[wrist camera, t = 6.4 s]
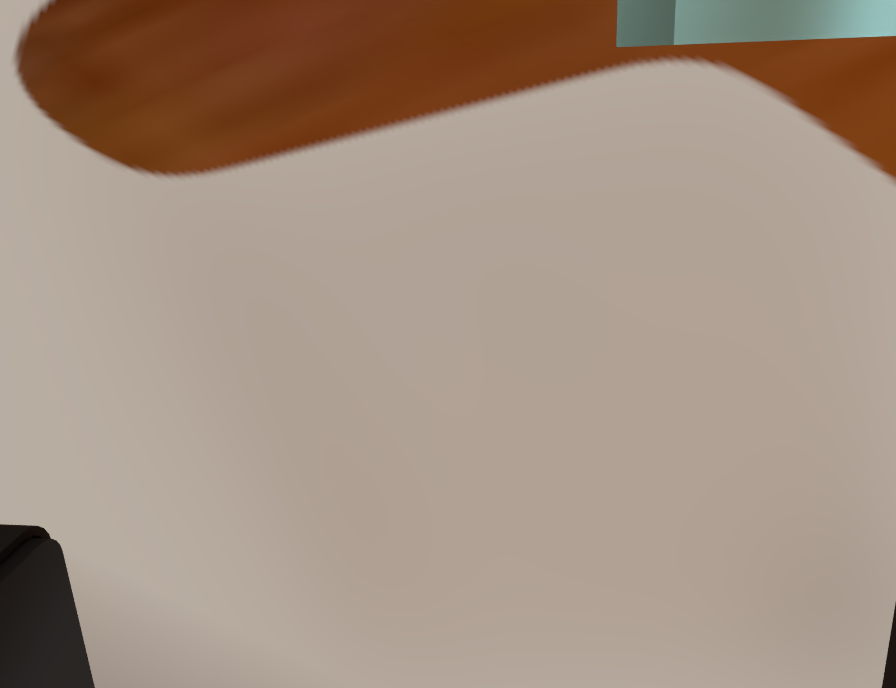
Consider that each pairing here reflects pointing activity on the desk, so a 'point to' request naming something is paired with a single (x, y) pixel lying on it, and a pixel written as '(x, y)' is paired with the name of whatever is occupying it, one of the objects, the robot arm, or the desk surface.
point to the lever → (750, 20)
